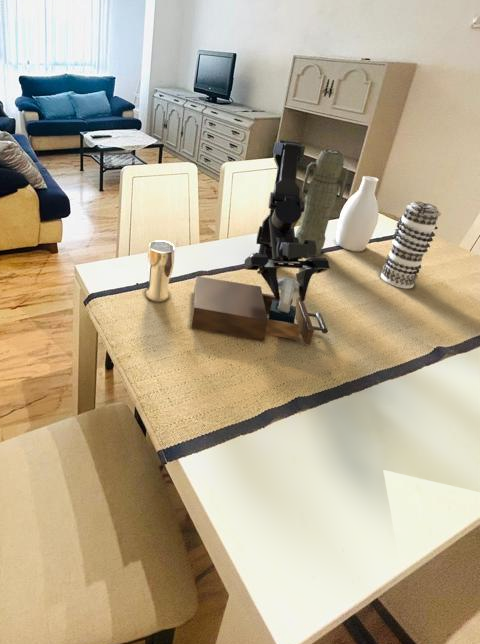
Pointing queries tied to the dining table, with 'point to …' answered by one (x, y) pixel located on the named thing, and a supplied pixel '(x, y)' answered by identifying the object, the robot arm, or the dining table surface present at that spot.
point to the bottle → (359, 217)
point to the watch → (284, 301)
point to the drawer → (290, 328)
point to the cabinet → (229, 308)
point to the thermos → (321, 196)
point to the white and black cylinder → (410, 244)
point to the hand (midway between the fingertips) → (290, 300)
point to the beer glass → (159, 269)
